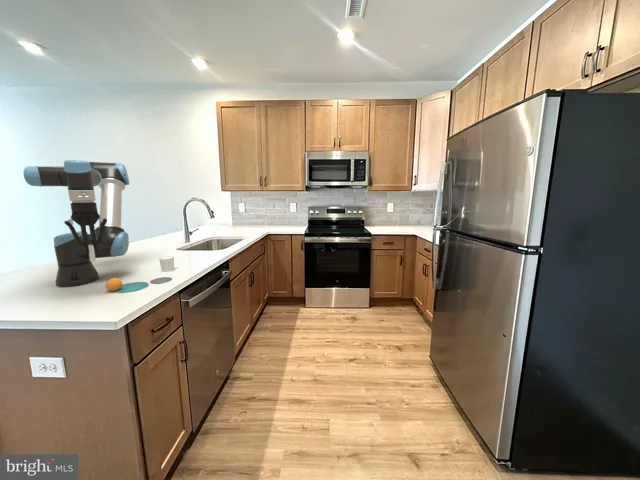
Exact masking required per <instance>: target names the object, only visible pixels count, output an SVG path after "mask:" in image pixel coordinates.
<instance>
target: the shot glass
mask: <svg viewBox="0 0 640 480" xmlns="http://www.w3.org/2000/svg"><path fill="white" fill-rule="evenodd" d="M158 259H159V263H160V269H161V272H162V273H163V272H164V273H167V272H168V273H169V272H173V271H174V270H175V257H174V256H162V257H159V258H158Z"/></svg>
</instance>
